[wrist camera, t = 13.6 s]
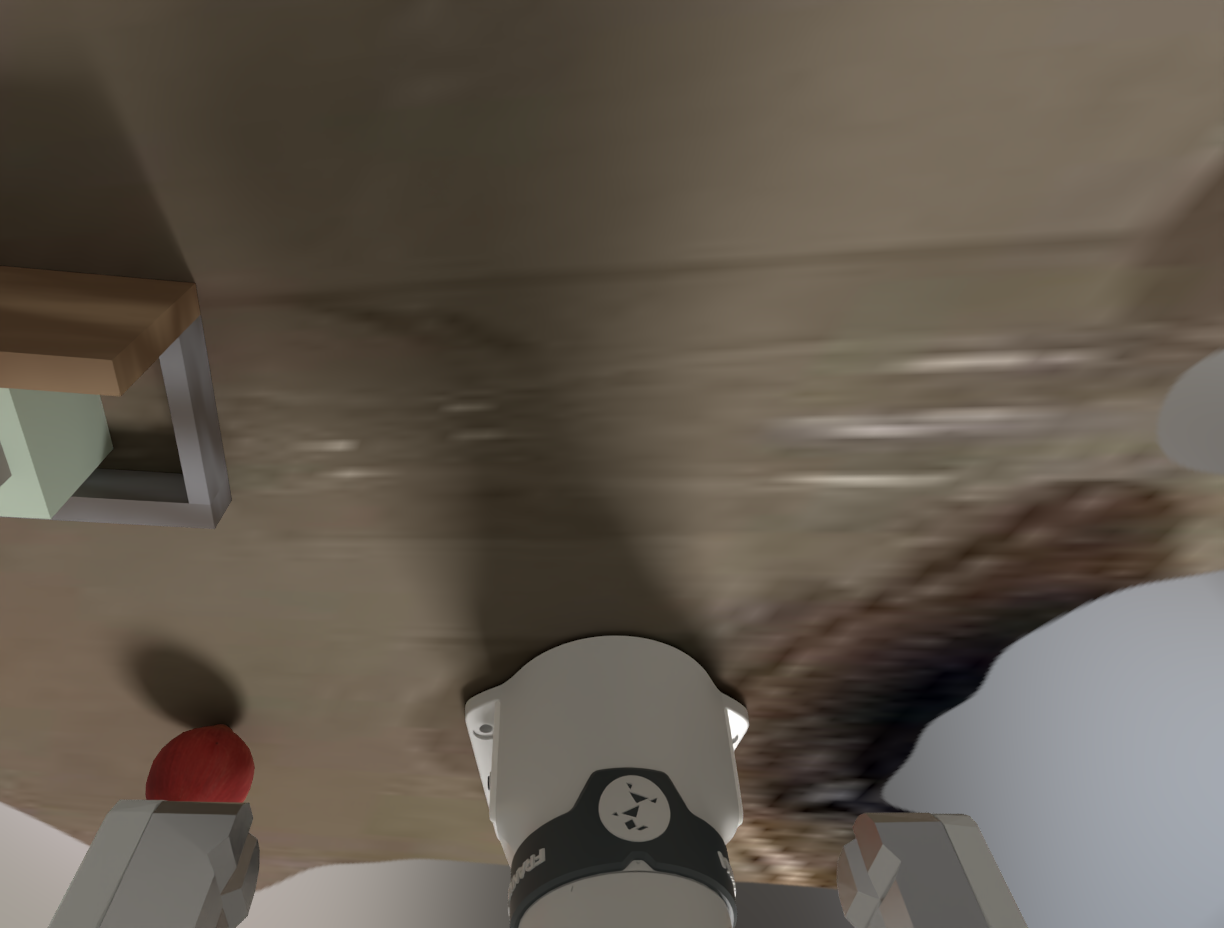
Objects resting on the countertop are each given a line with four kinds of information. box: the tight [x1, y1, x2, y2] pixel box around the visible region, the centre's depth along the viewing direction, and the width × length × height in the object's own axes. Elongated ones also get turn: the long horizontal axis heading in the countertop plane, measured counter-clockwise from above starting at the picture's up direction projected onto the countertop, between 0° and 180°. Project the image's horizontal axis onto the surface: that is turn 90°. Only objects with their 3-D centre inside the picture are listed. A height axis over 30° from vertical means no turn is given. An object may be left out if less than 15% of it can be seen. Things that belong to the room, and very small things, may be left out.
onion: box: [146, 724, 255, 803], centre depth 48 cm, size 6×6×8 cm
